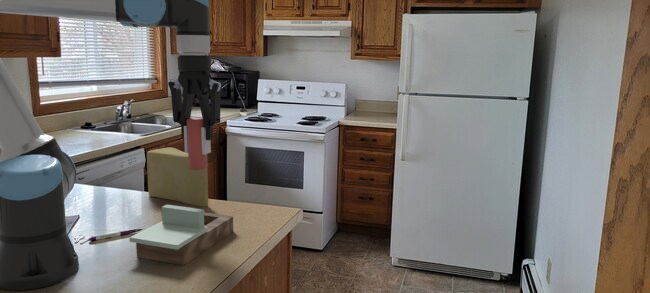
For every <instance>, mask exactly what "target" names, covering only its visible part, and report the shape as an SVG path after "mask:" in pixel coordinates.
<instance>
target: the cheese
mask: <svg viewBox="0 0 650 293" xmlns="http://www.w3.org/2000/svg"><path fill="white" fill-rule="evenodd" d="M146 168H147V190H148V196H149V197H153V198H158V199H165V200H169V201H175V202H179V203H183V204H188V205H192V206H197V207H201V208H204V207H208V206H209V183H208V182H209V174H208V168H207V169H203V170H190V169H189V158H188V153H185V151H182V150H180V149H178V148H175V147H162V148H156V149H152V150H148V151H147V152H146Z"/></svg>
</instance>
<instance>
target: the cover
mask: <svg viewBox="0 0 650 293" xmlns="http://www.w3.org/2000/svg"><path fill="white" fill-rule="evenodd" d="M204 212H205V209H204V208H203V209H202V208H195V207H188V206H181V205H173V204H165V205H163V206H161V221H159V222H158V223H156V224H153V225H152V226H149V227H148V228H146V229H144V230H142V231H140V232H137V233H136V234H134V235H132V236H130V237H129V242H130V243H135V244H136V243H140V244H146V245H152V246H158V247H164V248H170V249H176V250H178V249H179V248H181V247H183V246H184V245H186V244H188V243H189V242H191V241H192V240H194V239H196V238H197V237H199V236H201V235H202V234H204V233H205V232H207V231H208V227H207V226H204Z"/></svg>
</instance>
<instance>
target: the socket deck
mask: <svg viewBox="0 0 650 293" xmlns="http://www.w3.org/2000/svg"><path fill="white" fill-rule="evenodd" d="M204 226H207V227H208V231H207V232H205V233H204V234H202V235H201V236H199V237H197V238H196V239H194V240H192V241H191V242H189V243H188V244H186V245H184V246H183V247H181V248H179V249H178V250H176V249H170V248H164V247H158V246H152V245H146V244H140V243H135V245H136V247H135V248H136V250H135V251H136V258H141V259H146V260H152V261H158V262H163V263H169V264H173V265H180V266H185V265H186V264H187V263H189V262H191V261H193V260H194V259H195V258H196V257H198V256H199V255H201V254H202V253H203V252H205V251H206V250H208V249H209V248H211V247H212V246H214V245H216V244H217V243H218V242H220V241H221V240H222V239H224V238H226V237H227V236H229V235H230V234H232V233H233V232H234V216H233V215H227V214H226V215H225V214H217V213H212V212H205V211H204Z"/></svg>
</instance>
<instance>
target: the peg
mask: <svg viewBox="0 0 650 293" xmlns="http://www.w3.org/2000/svg"><path fill="white" fill-rule="evenodd" d="M202 125H204V122H203V118H202V117H190V118H189V119H187V137H188V158H189V169H190V170H203V169H207V170H208V169H209V168H208V167H209V165H208V154H202V137H201V127H203V126H202Z"/></svg>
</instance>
